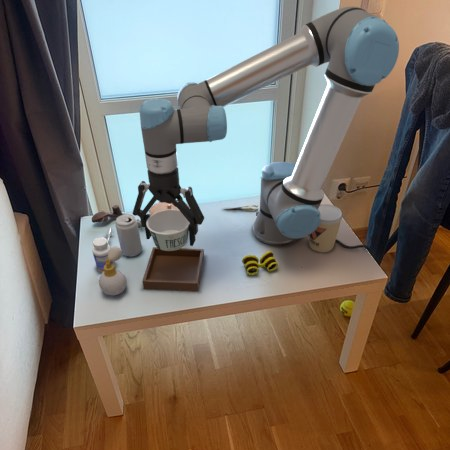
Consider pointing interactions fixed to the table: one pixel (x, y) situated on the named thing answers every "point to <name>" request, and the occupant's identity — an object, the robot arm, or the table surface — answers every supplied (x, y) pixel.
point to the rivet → (109, 234)
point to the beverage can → (128, 235)
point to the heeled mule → (107, 215)
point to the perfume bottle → (112, 274)
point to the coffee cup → (326, 228)
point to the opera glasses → (265, 261)
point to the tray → (174, 269)
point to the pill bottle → (101, 252)
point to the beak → (245, 208)
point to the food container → (168, 229)
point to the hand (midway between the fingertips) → (170, 239)
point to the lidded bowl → (162, 207)
